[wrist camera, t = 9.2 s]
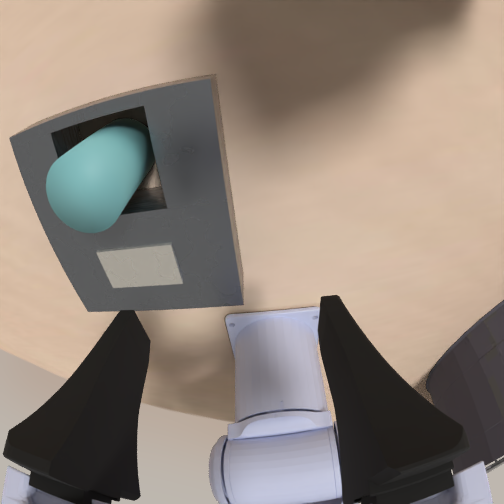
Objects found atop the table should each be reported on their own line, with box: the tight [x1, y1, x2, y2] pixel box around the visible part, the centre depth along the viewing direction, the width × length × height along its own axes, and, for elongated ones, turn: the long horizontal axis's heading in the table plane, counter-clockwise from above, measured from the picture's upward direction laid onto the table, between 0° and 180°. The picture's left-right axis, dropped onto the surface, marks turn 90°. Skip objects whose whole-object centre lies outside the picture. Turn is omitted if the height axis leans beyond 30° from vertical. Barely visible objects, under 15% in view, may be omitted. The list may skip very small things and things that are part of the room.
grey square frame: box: [10, 74, 244, 312], centre depth 17 cm, size 14×12×3 cm
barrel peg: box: [46, 118, 155, 233], centre depth 14 cm, size 4×4×6 cm
